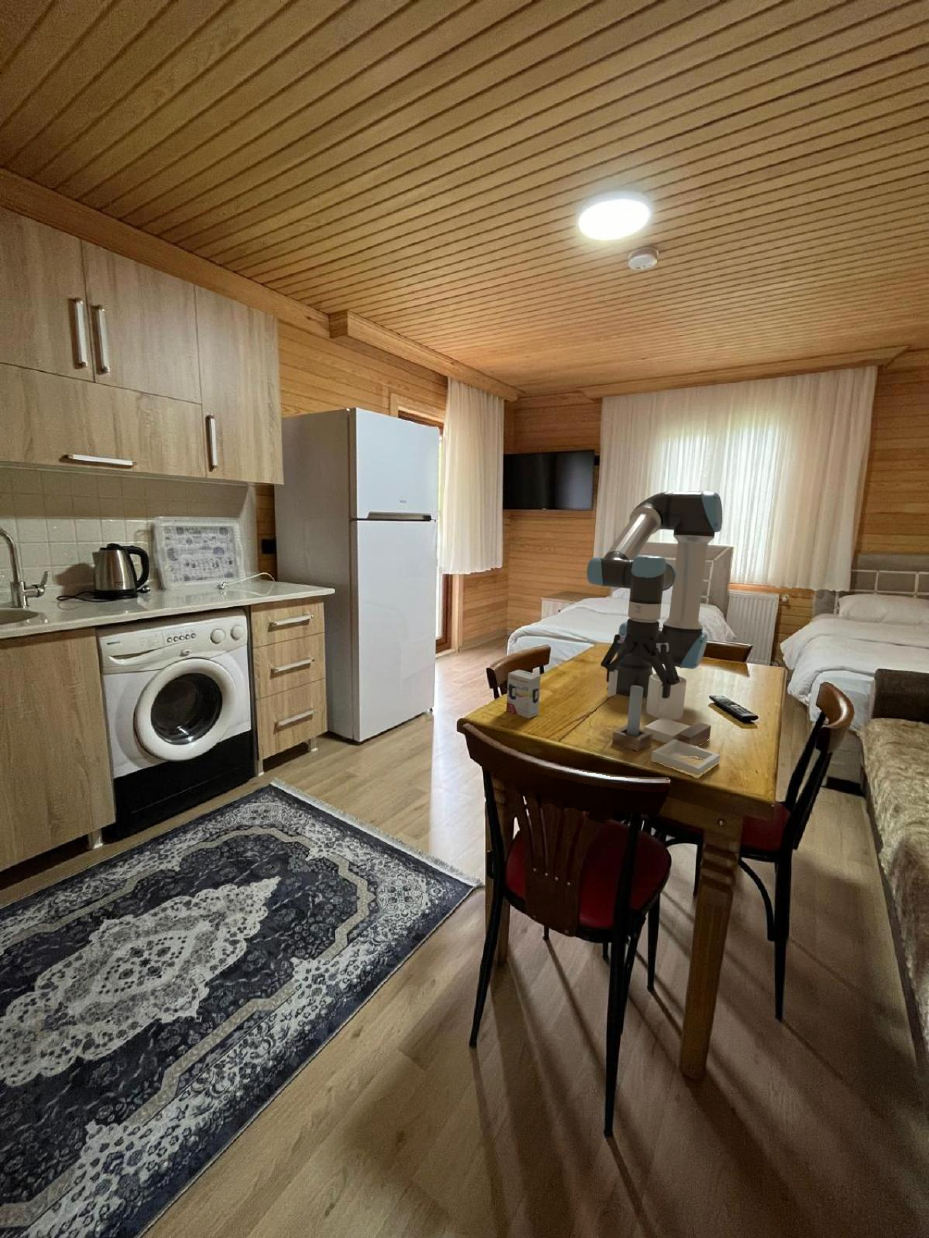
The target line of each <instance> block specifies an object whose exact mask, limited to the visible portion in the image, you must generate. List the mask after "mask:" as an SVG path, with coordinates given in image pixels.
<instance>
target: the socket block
mask: <svg viewBox="0 0 929 1238" xmlns="http://www.w3.org/2000/svg"><path fill="white" fill-rule="evenodd" d="M652 740H653V739H652V733H651V732H648V731H645V730H644V729H641V728H639V736H638V737H634V736H631V735H628V734H627V725H624V726H622V727H620V728H618V729H615V730H613V731H612V741H611V742H612V743H613V744H615V743H616V744H615V745H618V746H621V747H623V746H625V747H624V748H626V747H627V748H626V749H628V748H629V750H631V749H633V750H636V751H638V750H640V749H641V750H643V749H645V748H647V747H649V746H651V745H652V742H653V741H652ZM650 744H651V745H650ZM648 745H649V746H648ZM646 746H647V747H646ZM644 747H645V748H644ZM642 748H643V749H642ZM633 750H632V751H633ZM641 750H640V751H641ZM636 751H635V752H636ZM638 752H639V751H638Z"/></svg>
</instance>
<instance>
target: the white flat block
mask: <svg viewBox="0 0 929 1238" xmlns="http://www.w3.org/2000/svg"><path fill="white" fill-rule="evenodd" d="M690 727H691V725H687V724H685V723H681V722H678V721H675V720H669V719H666V718H657V719H656V720H654V721H652V722H650V723H648V724H646V725H644V727H643V730H645V731H648V732H651V733H652V740H654V739H656V740H655V741H657V740H659V741H658V742H660V741H661V743H663V742H664V743H663V744H666V743H669V742H670V741H672V740H674V739H676V740H678V734H679V733H681V732H683V731H684V730H686V729H688V728H690Z"/></svg>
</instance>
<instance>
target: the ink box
mask: <svg viewBox="0 0 929 1238" xmlns="http://www.w3.org/2000/svg"><path fill="white" fill-rule="evenodd" d="M506 688H507V689H506V706H505V708H506V710H507V712H508V711H509V713H511V712H513V713H512V714H514V713H515V714H514V715H517V716H520V715H521V717H524V718H526V719H531V718H533V717H536V716H538V715H539V711H540V708H539V707H540V691H541V676H540V675H539V674H536V673H532V672H529V671H526V670H521V669H516V670H514V671H511V672H508V673H507V687H506ZM506 710H505V711H506Z"/></svg>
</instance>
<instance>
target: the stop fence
mask: <svg viewBox="0 0 929 1238" xmlns="http://www.w3.org/2000/svg"><path fill="white" fill-rule="evenodd" d="M711 728H712V725H711V724H708V723H703V722H697V723H696V724H694V725H691V726H690V728H688V729H686V730H684V731H683V732H681V733H679V734H678V740H679V741H682V742H685V743H688V744H691V745H694V746H699V745H700V744H702V743H704V742H705V743H707V742H708V741H707V740H708V739H709V740H710V739H711V738H710V737H711ZM706 741H707V742H706ZM705 743H704V744H705ZM702 745H703V744H702ZM700 746H701V745H700ZM700 746H699V747H700Z"/></svg>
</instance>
